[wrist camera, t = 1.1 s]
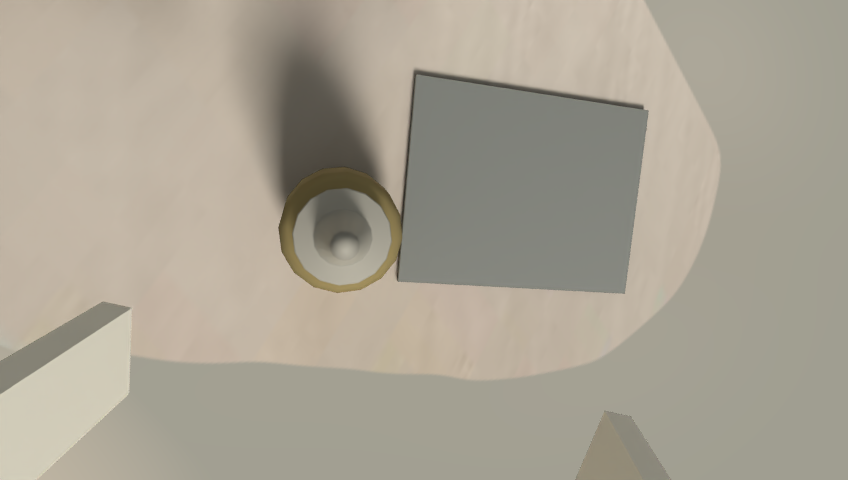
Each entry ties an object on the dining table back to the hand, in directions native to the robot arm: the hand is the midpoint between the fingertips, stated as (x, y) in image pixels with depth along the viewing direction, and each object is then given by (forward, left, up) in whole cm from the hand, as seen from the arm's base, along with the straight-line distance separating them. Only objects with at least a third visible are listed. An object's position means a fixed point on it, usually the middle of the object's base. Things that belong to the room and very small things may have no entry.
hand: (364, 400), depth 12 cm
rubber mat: (-7, +15, -23) cm, 29 cm away
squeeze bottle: (-4, -1, -24) cm, 24 cm away
